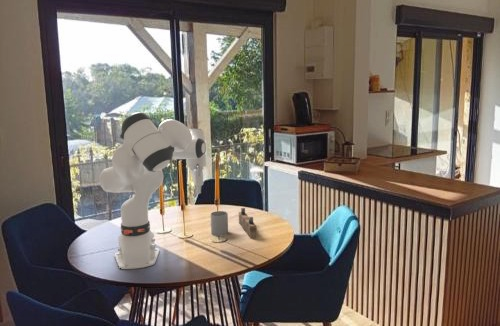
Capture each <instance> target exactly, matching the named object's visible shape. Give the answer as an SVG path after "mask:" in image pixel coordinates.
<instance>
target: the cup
mask: <svg viewBox="0 0 500 326" xmlns="http://www.w3.org/2000/svg"><path fill="white" fill-rule="evenodd" d="M228 213H229V212H227V211H223V210H217V211H212V212H210V231H211V232H210V235H212V236H215V237H223V236H227V235H228V234H229V219H228V217H229V215H228Z"/></svg>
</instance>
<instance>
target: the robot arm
mask: <svg viewBox="0 0 500 326" xmlns="http://www.w3.org/2000/svg"><path fill="white" fill-rule="evenodd" d="M120 130H121V133H120V134H119V138H120V139H123V143H122V144H121V145H119V146H118V147H116V149H115V150H114V152H113V154H112V159H111V165H112V166H110V167H106V168H103V170H102V171H101V172H100V174H99V178H98V182H99V186H100V188H102V190H103V191H104V192H105V193H113V194H115V193H117V194H119V193H132V192H134V193H135V194H134V195H133V196H132V197H130V198H129V199H127V200H125V201H124V202H123V203H122V204H121V206H120V216H121V217H120V220H121V223H120V233H121V234H120V235H119V236H118V249H117V251H118V252H115V253H114V258H115V261H116V264H117V266H119V267H118V269H120V268H121V270H134V269H142V268H148V267H150V266H154V265H155V263H156V262H157V259H158V257H159V254H160V253H161V251H160V250H161V249H160V248H157V247H156V243H155V241H156V239H155V233H154V232H153V231H151V222H150V220H149V203H150V200H151V197H152V196H153V194H154V193H155V192H156V191H157V190H158V189H159V188H160V187H161V186H162V185H163V183H164V173H163V169H165V168H167V166H168V165H169V164H170V163H171V162H172V160H186V164H187V168H189V170H190V174H191V178H192V181H193V184H194V189H195V190H196V193H197V195H199V194H202V186H204V173H203V172H204V171H203V170H204V167H206V166H207V157H206V151H207V150H206V149H207V147H206V146H207V145H206V141H205V134H204V130H203V129H201V128H189V127H187V125H186V124H184V123H183V122H181V121H179V120H176V119H165V120H163V121H162V122H161V123H160V124H159V125H158V128H157V126H156V125H155V124H154V123H153V122H152V119H151V117H149V115H148V114H146V113H144V112H143V111H142V112H134V113H132V114H130V115H128V116H127V117H126V118H124V119H123V122H122V125H121V129H120Z"/></svg>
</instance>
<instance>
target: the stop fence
mask: <svg viewBox="0 0 500 326" xmlns="http://www.w3.org/2000/svg"><path fill="white" fill-rule="evenodd" d="M238 224H239V225H240V227H241V228H242V229H243V231H244V232H245V233H246V235H247V236H248V237H249V239H257V224H255V223H254V217H253V216H249V215H248V214H247V213H246V207H245V208H244V207H241V208H240V211H238Z"/></svg>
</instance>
